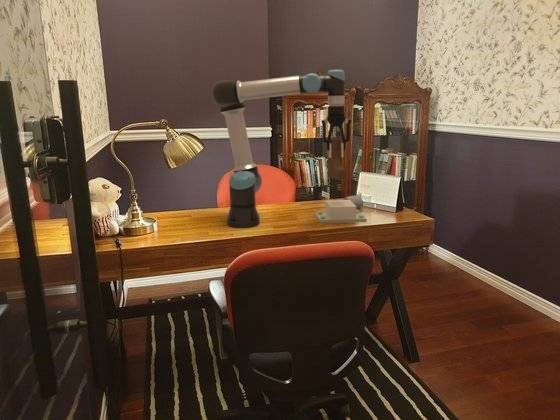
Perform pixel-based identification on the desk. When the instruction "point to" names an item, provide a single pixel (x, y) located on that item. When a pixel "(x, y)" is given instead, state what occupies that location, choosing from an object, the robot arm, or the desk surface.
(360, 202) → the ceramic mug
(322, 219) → the tower base
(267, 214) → the desk surface
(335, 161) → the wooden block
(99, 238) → the desk surface
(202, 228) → the desk surface
